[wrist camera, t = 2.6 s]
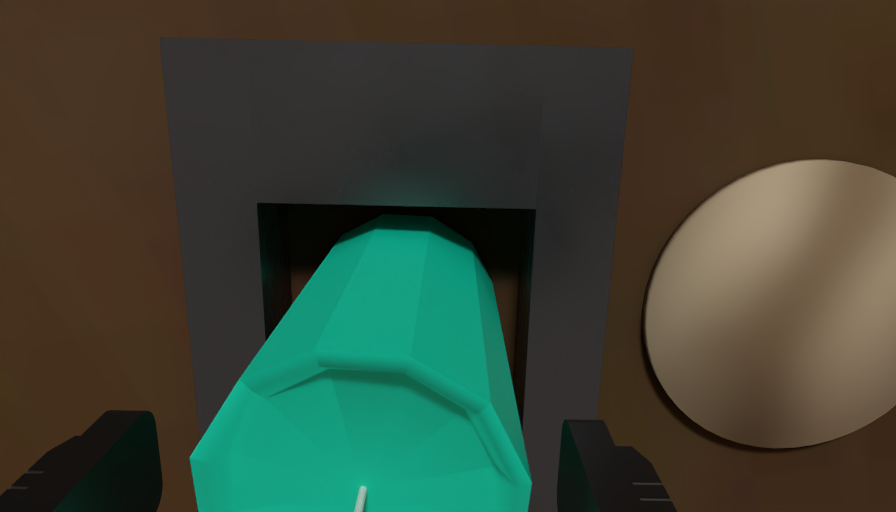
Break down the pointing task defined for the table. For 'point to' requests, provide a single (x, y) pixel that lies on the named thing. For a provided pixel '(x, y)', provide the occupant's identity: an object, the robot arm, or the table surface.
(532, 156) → the grey rectangular frame
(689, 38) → the table surface
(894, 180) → the cork coaster
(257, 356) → the candle
